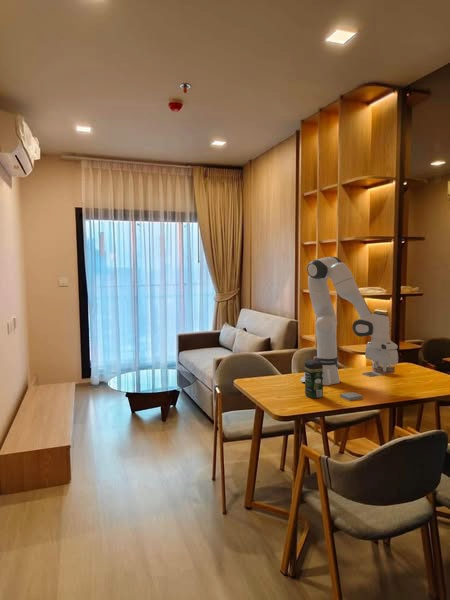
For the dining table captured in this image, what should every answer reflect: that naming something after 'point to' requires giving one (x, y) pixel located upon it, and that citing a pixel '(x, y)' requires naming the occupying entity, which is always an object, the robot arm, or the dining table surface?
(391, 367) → the turner
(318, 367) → the coffee jar
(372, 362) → the teacup with lid
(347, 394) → the tile
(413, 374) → the dining table surface
